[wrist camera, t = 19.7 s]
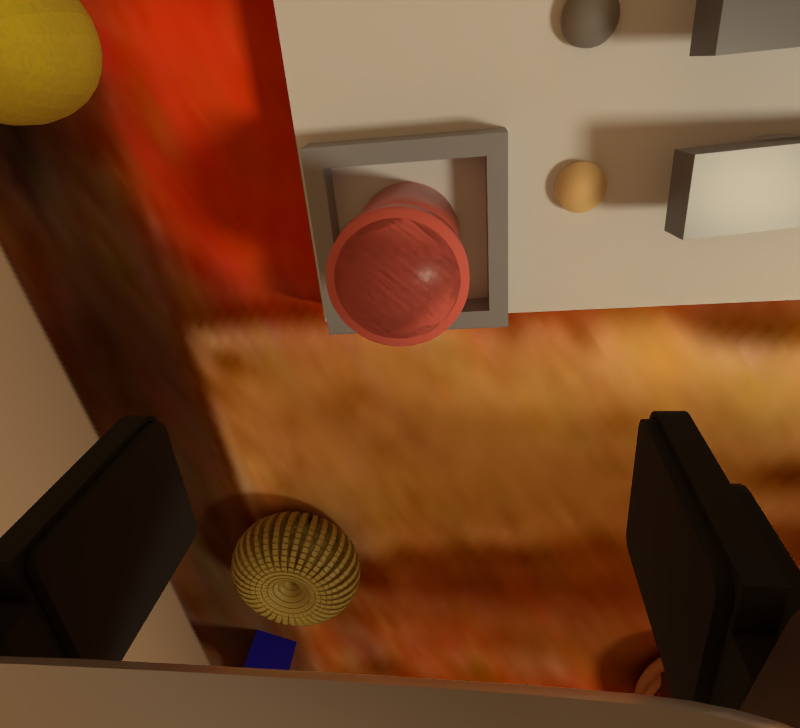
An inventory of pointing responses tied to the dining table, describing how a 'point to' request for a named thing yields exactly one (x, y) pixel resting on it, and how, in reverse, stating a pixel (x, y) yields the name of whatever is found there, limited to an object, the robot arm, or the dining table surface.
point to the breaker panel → (536, 142)
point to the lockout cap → (400, 267)
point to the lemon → (46, 60)
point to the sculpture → (295, 568)
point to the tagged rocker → (735, 188)
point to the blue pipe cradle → (270, 652)
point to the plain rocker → (744, 26)
